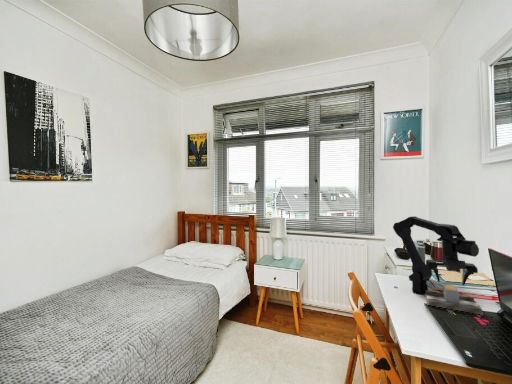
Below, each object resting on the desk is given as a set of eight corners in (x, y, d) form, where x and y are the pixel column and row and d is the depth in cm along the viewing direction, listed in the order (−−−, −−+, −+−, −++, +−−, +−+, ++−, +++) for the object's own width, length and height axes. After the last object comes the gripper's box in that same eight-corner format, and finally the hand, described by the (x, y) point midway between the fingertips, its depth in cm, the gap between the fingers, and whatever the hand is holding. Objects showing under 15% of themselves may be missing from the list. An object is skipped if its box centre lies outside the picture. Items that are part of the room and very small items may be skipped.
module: (445, 302, 113) (445, 289, 113) (443, 296, 119) (442, 284, 119) (459, 304, 111) (459, 291, 110) (456, 298, 117) (455, 285, 116)
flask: (428, 286, 135) (426, 243, 135) (418, 285, 137) (417, 242, 137) (422, 276, 151) (421, 237, 150) (414, 275, 153) (413, 236, 152)
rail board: (427, 306, 114) (427, 300, 114) (424, 295, 125) (424, 289, 125) (483, 316, 104) (483, 309, 104) (474, 303, 115) (474, 297, 115)
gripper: (428, 253, 112) (429, 286, 112) (481, 258, 103) (482, 293, 103) (425, 248, 122) (426, 278, 122) (473, 251, 112) (474, 284, 113)
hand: (450, 283), depth 115 cm, fingers open, 9 cm apart
